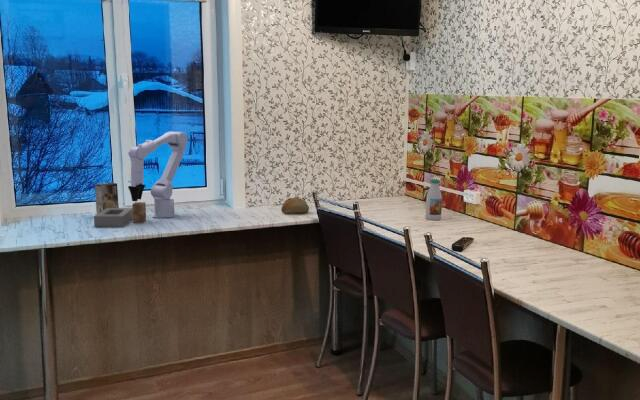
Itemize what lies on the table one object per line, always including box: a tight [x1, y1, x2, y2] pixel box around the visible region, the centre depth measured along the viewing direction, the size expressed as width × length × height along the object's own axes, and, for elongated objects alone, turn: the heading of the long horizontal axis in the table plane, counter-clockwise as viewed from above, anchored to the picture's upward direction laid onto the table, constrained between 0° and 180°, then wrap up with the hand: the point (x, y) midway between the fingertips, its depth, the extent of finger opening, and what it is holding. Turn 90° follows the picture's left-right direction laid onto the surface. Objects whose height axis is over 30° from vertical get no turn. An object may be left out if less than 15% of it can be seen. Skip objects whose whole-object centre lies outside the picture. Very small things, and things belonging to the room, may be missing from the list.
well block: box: [93, 207, 133, 228], centre depth 278 cm, size 13×20×5 cm, turn 4°
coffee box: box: [94, 182, 120, 215], centre depth 293 cm, size 9×6×16 cm
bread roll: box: [280, 197, 310, 214], centre depth 303 cm, size 10×15×8 cm, turn 112°
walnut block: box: [131, 201, 147, 224], centre depth 280 cm, size 5×5×9 cm
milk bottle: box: [425, 178, 443, 221], centre depth 290 cm, size 8×8×20 cm
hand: (136, 200), depth 278 cm, fingers open, 7 cm apart
